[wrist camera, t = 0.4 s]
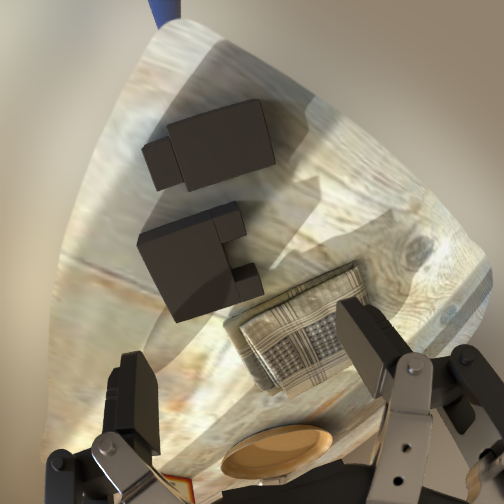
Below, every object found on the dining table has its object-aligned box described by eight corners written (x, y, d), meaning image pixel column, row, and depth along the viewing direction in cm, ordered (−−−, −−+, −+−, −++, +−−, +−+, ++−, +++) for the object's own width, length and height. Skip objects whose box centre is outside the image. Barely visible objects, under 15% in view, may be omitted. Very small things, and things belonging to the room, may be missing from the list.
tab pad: (141, 134, 25) (137, 138, 23) (253, 98, 26) (259, 99, 23) (162, 193, 28) (160, 202, 26) (268, 159, 29) (276, 164, 26)
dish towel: (355, 254, 36) (369, 267, 33) (372, 342, 45) (381, 355, 42) (215, 320, 36) (218, 339, 33) (265, 393, 45) (271, 408, 42)
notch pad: (139, 234, 29) (136, 245, 27) (235, 200, 30) (239, 209, 28) (175, 309, 34) (176, 323, 32) (259, 281, 35) (264, 294, 33)
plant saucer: (340, 406, 53) (347, 419, 50) (315, 456, 64) (319, 466, 61) (215, 429, 48) (218, 444, 45) (220, 473, 59) (222, 485, 56)
